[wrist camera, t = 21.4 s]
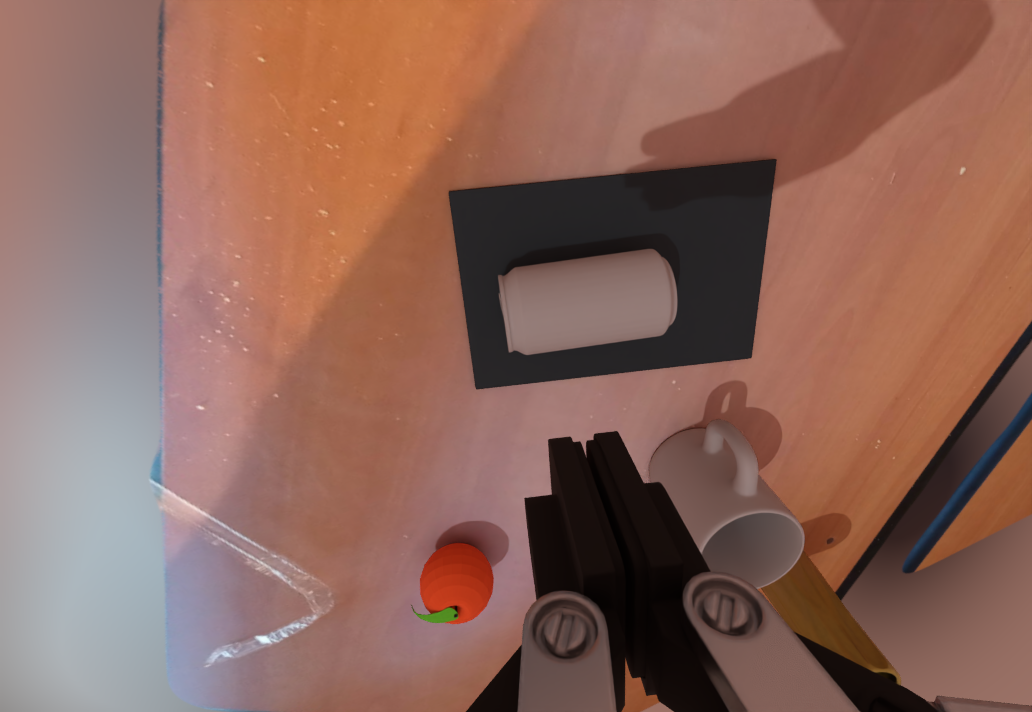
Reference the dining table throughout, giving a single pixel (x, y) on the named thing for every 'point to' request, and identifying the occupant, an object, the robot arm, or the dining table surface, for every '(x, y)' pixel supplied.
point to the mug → (728, 503)
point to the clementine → (455, 584)
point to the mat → (616, 229)
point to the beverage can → (587, 301)
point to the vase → (824, 617)
